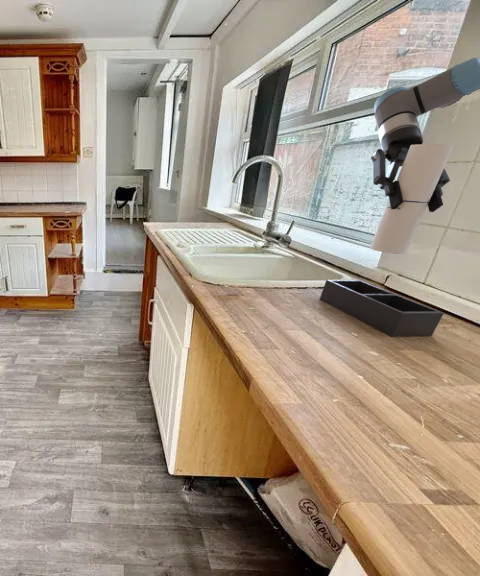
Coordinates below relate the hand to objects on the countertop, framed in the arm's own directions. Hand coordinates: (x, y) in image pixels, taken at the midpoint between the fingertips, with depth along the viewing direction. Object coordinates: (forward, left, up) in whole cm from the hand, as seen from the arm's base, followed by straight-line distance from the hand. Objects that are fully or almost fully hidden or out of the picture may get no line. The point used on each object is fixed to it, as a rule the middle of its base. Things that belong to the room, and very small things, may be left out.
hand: (416, 206), depth 72 cm
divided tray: (+9, +7, -25) cm, 28 cm away
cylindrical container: (-1, -3, -12) cm, 12 cm away
